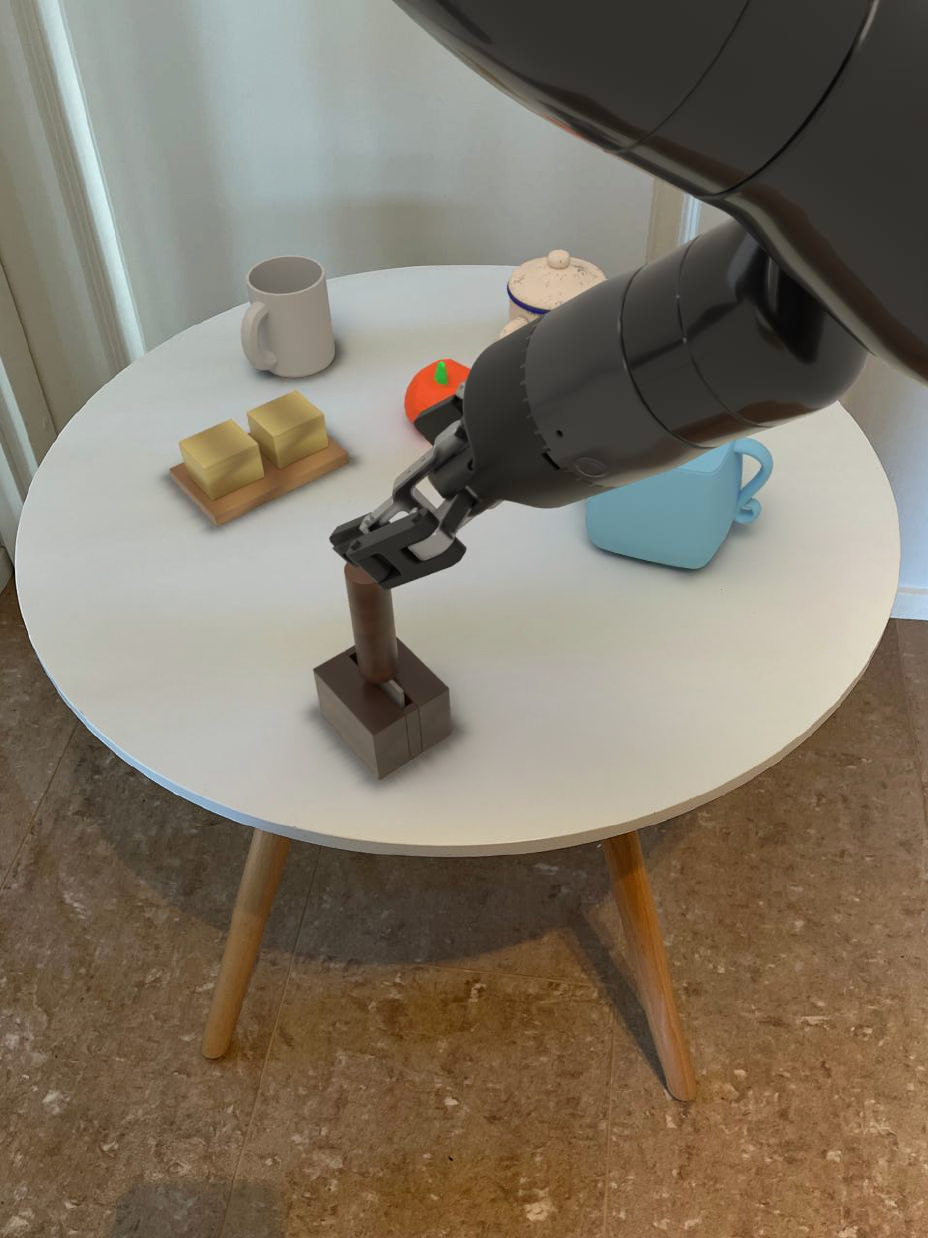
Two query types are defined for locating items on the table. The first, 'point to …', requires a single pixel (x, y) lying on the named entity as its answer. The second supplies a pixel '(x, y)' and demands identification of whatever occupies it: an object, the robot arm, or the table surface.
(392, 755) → the knife holder
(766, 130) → the robot arm
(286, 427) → the butter
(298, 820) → the table surface
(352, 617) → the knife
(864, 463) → the table surface
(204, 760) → the table surface
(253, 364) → the cup
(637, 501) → the teapot
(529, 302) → the teacup with lid
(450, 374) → the pumpkin
